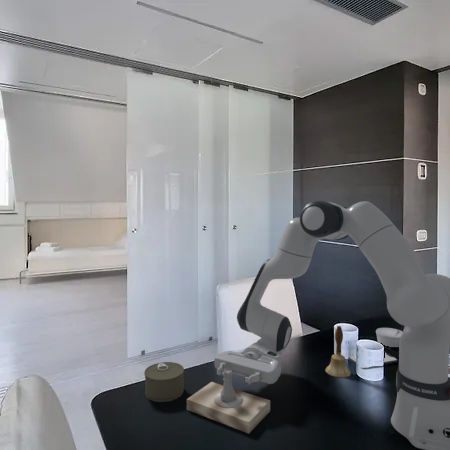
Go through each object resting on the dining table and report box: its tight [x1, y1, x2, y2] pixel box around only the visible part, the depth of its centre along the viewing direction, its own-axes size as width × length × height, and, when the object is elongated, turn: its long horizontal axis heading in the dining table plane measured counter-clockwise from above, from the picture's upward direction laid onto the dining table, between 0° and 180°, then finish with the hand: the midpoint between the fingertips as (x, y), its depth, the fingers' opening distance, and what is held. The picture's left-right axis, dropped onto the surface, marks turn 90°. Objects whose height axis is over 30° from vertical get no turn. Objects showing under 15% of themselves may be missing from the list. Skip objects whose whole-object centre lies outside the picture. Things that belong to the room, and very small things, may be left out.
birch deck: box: [186, 381, 271, 435], centre depth 102 cm, size 20×12×3 cm, turn 57°
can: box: [144, 361, 185, 403], centre depth 112 cm, size 12×12×7 cm
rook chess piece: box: [220, 369, 236, 402], centre depth 102 cm, size 4×4×8 cm
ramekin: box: [375, 327, 403, 347], centre depth 149 cm, size 11×11×5 cm
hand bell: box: [325, 325, 352, 378], centre depth 125 cm, size 8×8×16 cm
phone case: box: [347, 352, 399, 365], centre depth 133 cm, size 9×2×16 cm
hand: (232, 376), depth 103 cm, fingers open, 8 cm apart
